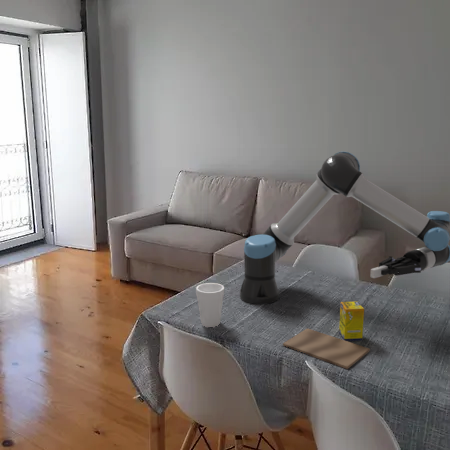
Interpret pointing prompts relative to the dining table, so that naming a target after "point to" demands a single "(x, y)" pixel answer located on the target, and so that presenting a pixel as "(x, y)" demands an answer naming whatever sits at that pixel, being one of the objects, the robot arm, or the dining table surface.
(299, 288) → the dining table surface
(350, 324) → the supplement box
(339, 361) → the brown flat board
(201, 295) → the foam cup
